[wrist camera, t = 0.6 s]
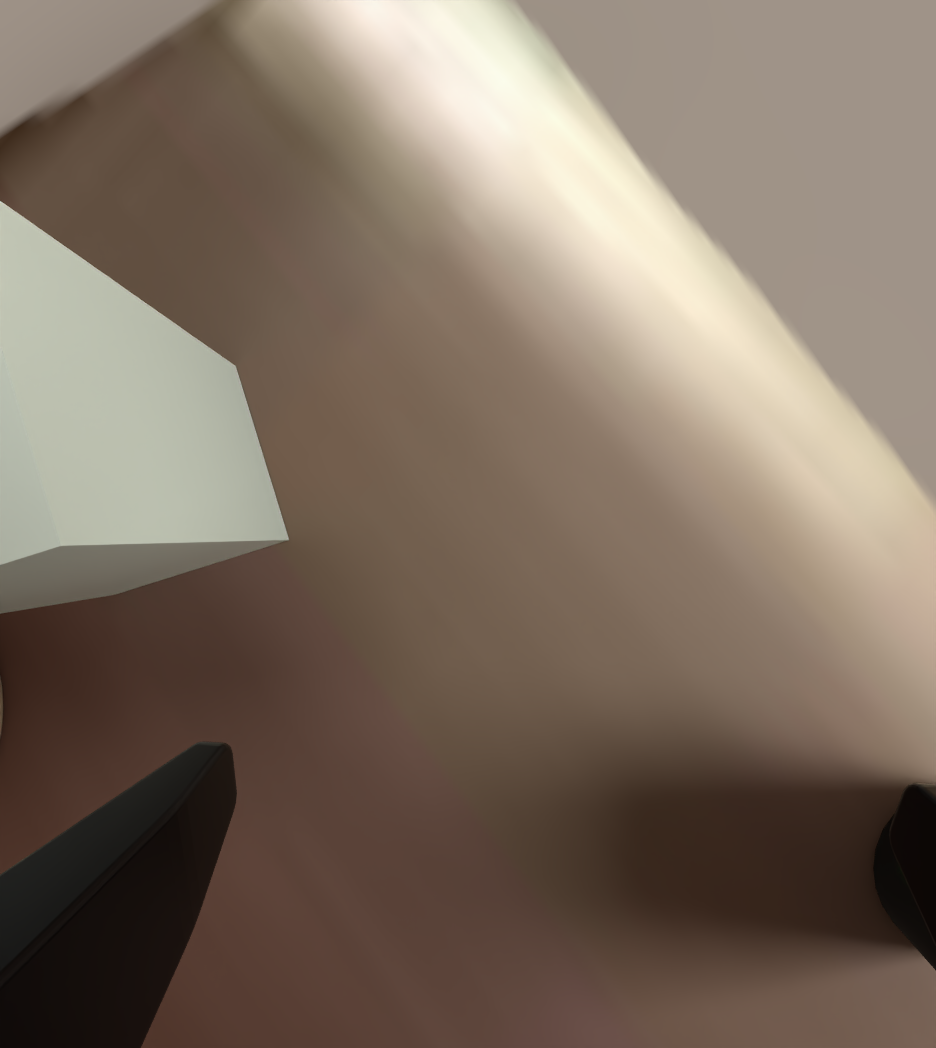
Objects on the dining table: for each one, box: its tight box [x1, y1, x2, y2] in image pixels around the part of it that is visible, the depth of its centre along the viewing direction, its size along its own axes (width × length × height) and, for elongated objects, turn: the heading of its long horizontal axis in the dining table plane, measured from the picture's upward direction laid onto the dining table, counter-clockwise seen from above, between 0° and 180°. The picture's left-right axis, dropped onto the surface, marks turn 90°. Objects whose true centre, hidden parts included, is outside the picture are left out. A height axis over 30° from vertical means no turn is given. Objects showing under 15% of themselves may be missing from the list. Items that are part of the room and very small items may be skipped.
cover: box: [0, 201, 289, 614], centre depth 15 cm, size 6×6×13 cm
